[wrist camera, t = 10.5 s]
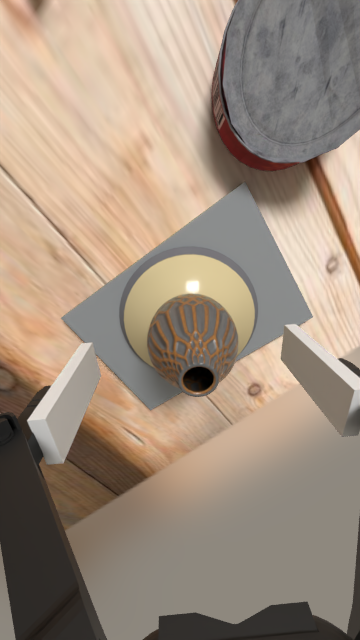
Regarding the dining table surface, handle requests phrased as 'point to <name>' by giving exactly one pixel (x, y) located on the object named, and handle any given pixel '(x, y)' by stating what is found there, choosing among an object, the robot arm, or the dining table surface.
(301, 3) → the canned food
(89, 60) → the dining table surface
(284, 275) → the board
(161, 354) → the vase
